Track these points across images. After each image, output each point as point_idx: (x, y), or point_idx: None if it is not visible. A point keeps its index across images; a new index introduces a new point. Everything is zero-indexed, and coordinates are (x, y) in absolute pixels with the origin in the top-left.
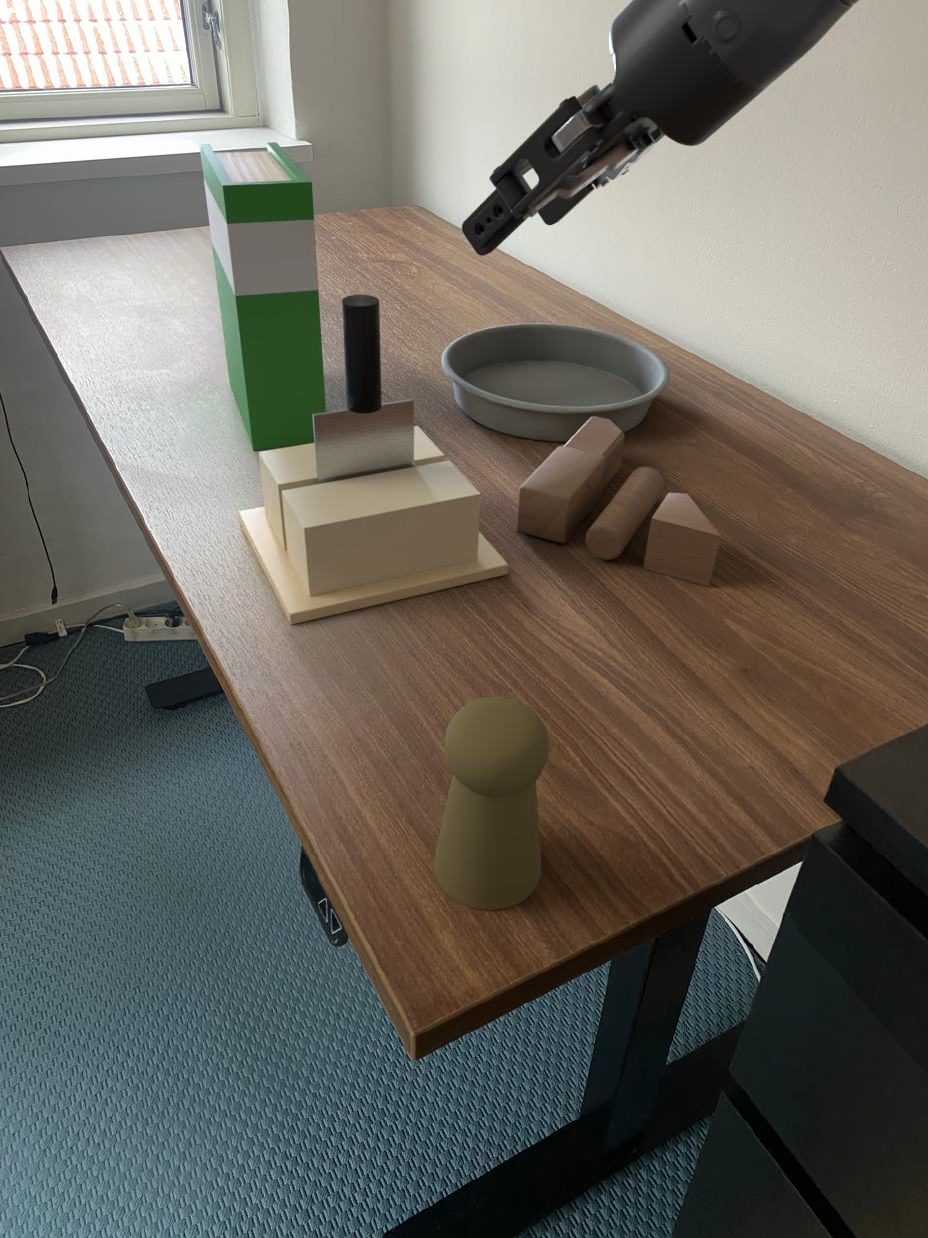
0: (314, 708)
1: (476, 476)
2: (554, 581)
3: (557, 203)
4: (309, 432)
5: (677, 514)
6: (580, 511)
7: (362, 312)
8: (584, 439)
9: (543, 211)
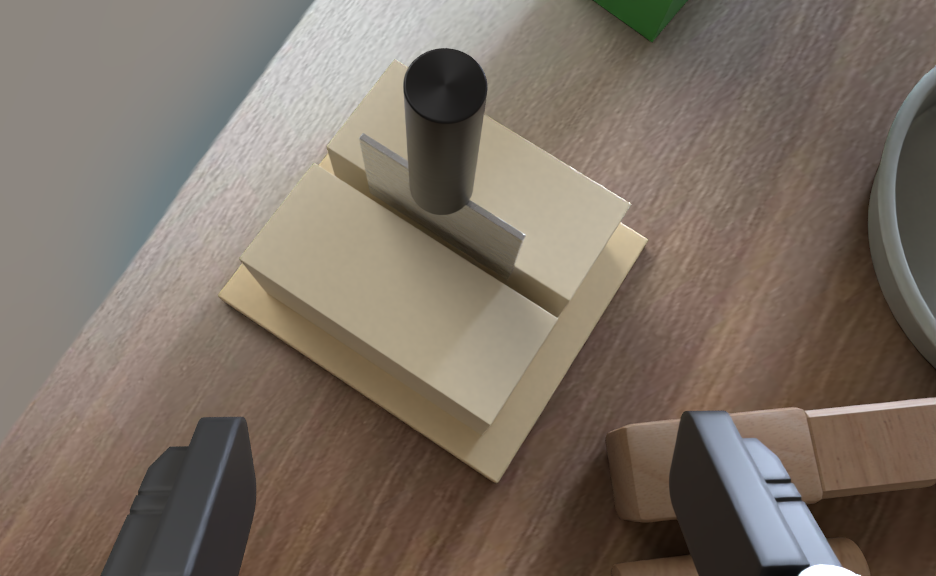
0: (94, 432)
1: (715, 288)
2: (523, 554)
3: (696, 517)
4: (634, 14)
5: None
6: None
7: (413, 117)
8: (855, 435)
9: (678, 464)
